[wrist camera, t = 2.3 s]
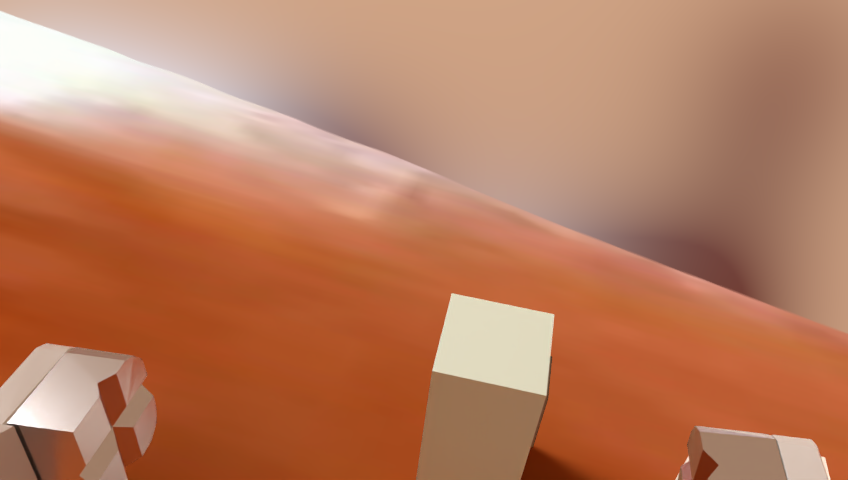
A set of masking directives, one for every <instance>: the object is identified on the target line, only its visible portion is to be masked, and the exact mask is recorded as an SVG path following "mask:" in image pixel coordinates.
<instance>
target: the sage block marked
mask: <svg viewBox="0 0 848 480" xmlns="http://www.w3.org/2000/svg"><path fill="white" fill-rule="evenodd" d="M553 323H554V314H550V313H545V312H540V311H535V310H530V309H526V308H521V307H516V306H511V305H506V304H501V303H496V302H492V301H487V300H482V299H477V298H472V297H467V296H462V295H458V294H453V293H452V295H451V299H450V303H449V307H448V311H447V314H446V318H445V322H444V326H443V330H442V334H441V338H440V342H439V346H438V350H437V354H436V358H435V362H434V366H433V370H432V376H431V383H430V389H429V396H428V403H427V410H426V416H425V423H424V430H423V437H422V444H421V450H420V457H419V464H418V471H417V477H416V480H521V476H522V473H523V470H524V467H525V464H526V460H527V457H528V454H529V451H530V447H533V446H534V442H535V439H536V436H537V433H538V430H539V426H540V423H541V420H542V417H543V414H544V410H545V407H546V404H547V401H548V395H549V384H550V374H551V363H552V356H550V354H551V343H552V333H553Z"/></svg>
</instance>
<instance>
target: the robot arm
mask: <svg viewBox="0 0 848 480" xmlns="http://www.w3.org/2000/svg"><path fill="white" fill-rule="evenodd" d="M146 376H147V372H146V369H145V366H144V363H143V361H142V359H141V358H138V357H135V356H130V355H124V354H117V353H111V352H104V351H97V350H91V349H84V348H78V347H75V348H74V347H68V346H61V345H54V344H48V343H46V344H44V345H42V346H40V347H37V348H36V349H35V350H34V351H33V352H32V353H31V354H30V355H29V356H28V357H27V359H26V360H25V361H24V362H23V363H22V364H21V365H20V366H19V368H18V369H17V370H16V371H15V372H14V373H13V374H12V375H11V376H10V378H9V379H8V380H7V381H6V382H5V383H4V384H3V385H2V387H1V388H0V480H128V478H127V472H126V466H127V465H129V464H131V463H132V462H134V461H135V460H137V459H139V458H140V457H142V456H143V454H144V452H145V451H146V449H147V447H148V445H149V444H150V442H151V440H152V436H153V433H154V429H155V426H156V422H157V417H156V404H155V400H154V396H153V395H152V394H151V393H150V392H149V391H148V390H147V389H146V388H145V387H144V386H143V385H142V382H143V381H144V379H145V378H146ZM687 447H688V454H689V461H688V462H687V463H685V464H684V465H682V466H681V468H680V472H679V476H678V480H828V477H827V474H826V471H825V468H824V465H823V462H822V459H821V456H820V453H819V450H818V447H817V445H816V444H815V443H814V442H813V441H812V440H811V439H804V438H795V437H787V436H778V435H771V436H770V435H768V434H762V433H753V432H744V431H736V430H727V429H718V428H710V427H701V426H695V427H694V428H693V430H692V431H691V434H690V437H689V440H688V444H687Z"/></svg>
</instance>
